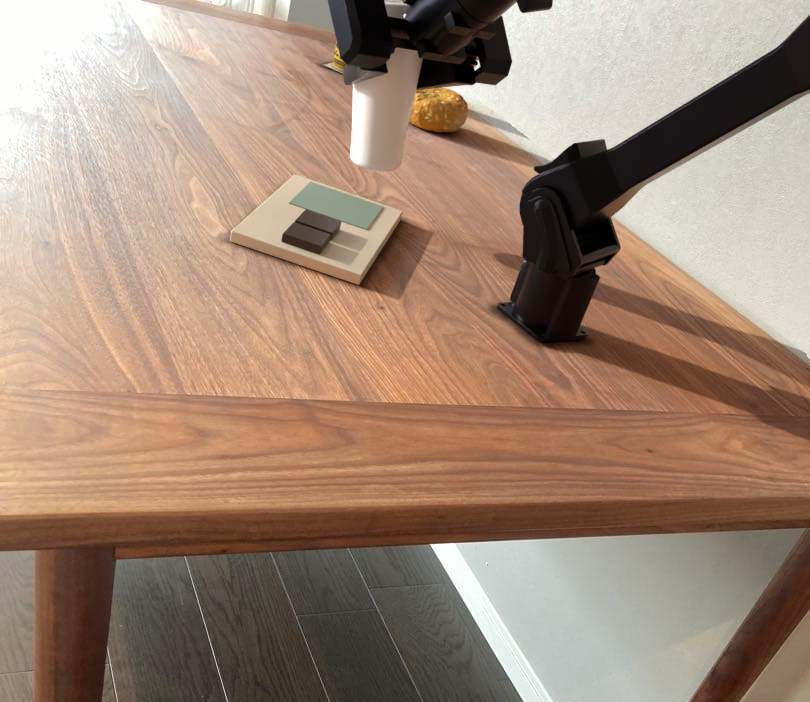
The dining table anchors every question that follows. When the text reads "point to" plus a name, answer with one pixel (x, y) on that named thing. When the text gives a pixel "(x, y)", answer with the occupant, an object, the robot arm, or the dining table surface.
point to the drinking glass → (385, 108)
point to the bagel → (438, 110)
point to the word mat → (319, 228)
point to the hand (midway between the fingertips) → (374, 83)
